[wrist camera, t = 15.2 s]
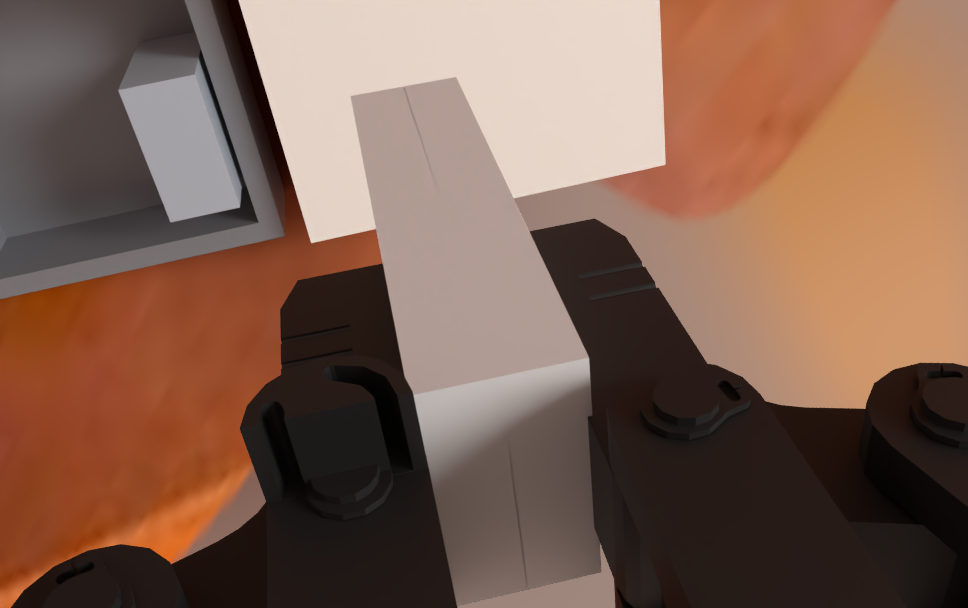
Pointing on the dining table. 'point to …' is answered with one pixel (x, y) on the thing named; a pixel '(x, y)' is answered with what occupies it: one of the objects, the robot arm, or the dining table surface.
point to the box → (111, 143)
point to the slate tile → (181, 127)
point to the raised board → (482, 76)
